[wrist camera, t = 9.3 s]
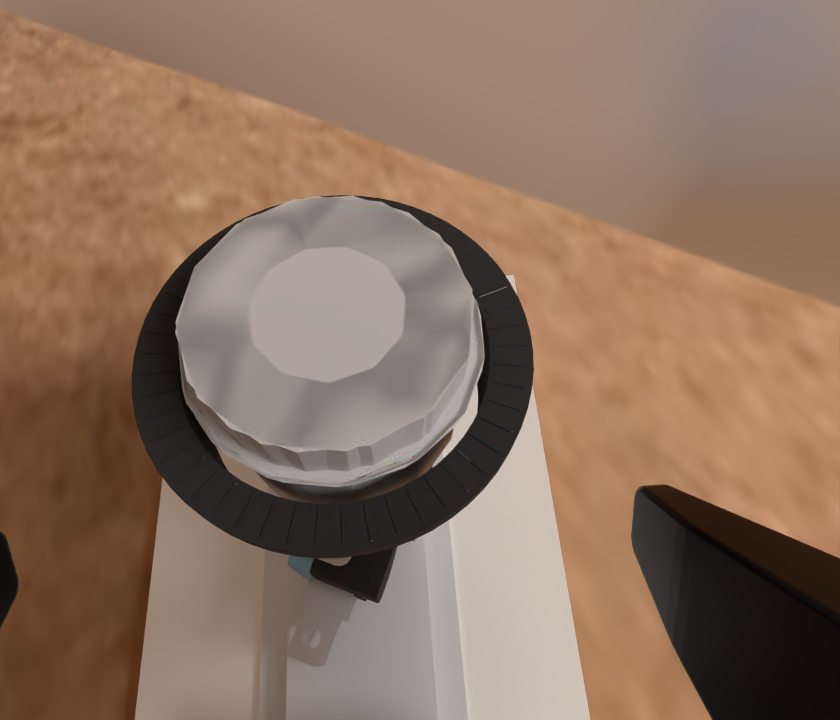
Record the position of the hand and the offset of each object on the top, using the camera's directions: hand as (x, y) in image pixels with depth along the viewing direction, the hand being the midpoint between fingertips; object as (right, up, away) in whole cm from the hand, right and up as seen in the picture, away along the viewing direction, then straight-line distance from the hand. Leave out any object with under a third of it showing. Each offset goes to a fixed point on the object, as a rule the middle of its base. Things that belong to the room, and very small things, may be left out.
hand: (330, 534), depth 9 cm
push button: (0, -2, +7) cm, 8 cm away
